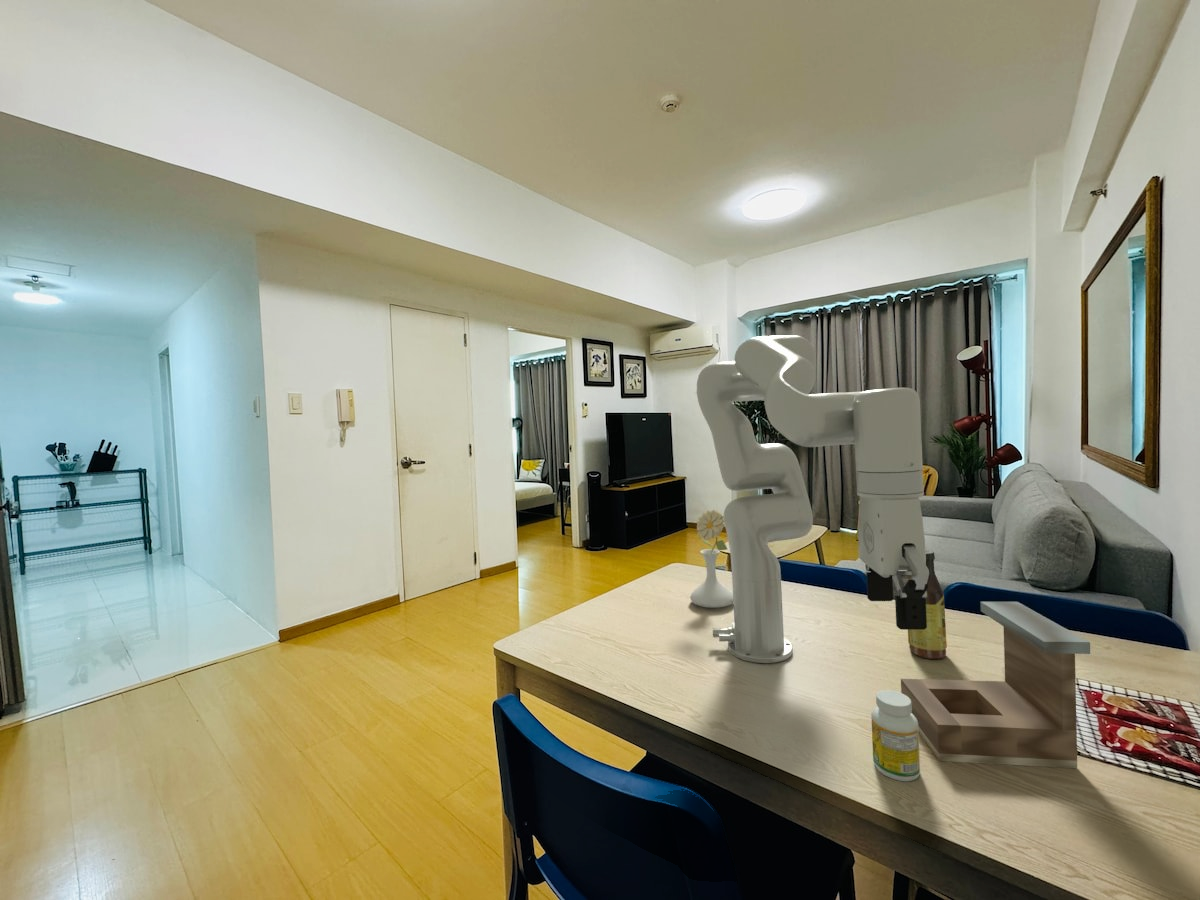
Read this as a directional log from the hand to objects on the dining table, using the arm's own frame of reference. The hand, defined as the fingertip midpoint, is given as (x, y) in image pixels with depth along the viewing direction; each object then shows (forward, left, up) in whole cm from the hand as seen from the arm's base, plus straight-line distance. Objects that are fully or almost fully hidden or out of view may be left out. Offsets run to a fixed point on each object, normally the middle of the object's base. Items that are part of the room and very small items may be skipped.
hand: (894, 613), depth 65 cm
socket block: (+14, +8, -21) cm, 26 cm away
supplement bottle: (-1, 0, -21) cm, 21 cm away
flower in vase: (-22, +59, -21) cm, 66 cm away
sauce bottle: (+17, +34, -21) cm, 43 cm away
